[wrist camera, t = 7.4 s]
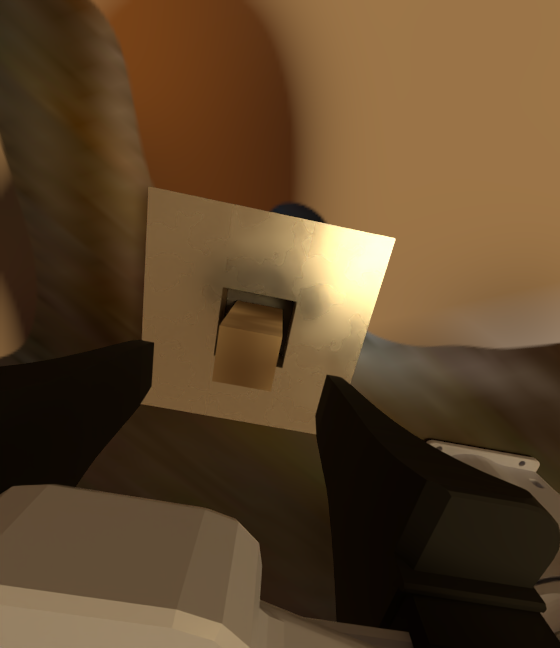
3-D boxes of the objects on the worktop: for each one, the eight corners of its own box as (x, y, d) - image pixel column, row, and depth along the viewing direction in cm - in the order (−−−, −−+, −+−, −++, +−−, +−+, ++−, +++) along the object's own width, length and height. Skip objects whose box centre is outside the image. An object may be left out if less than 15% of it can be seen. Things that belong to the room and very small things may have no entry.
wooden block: (282, 309, 19) (282, 337, 14) (273, 350, 20) (270, 391, 15) (237, 300, 19) (219, 325, 14) (230, 342, 20) (211, 381, 15)
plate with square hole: (383, 238, 18) (395, 238, 16) (329, 419, 22) (333, 437, 20) (163, 191, 17) (148, 186, 15) (151, 388, 21) (139, 403, 19)
